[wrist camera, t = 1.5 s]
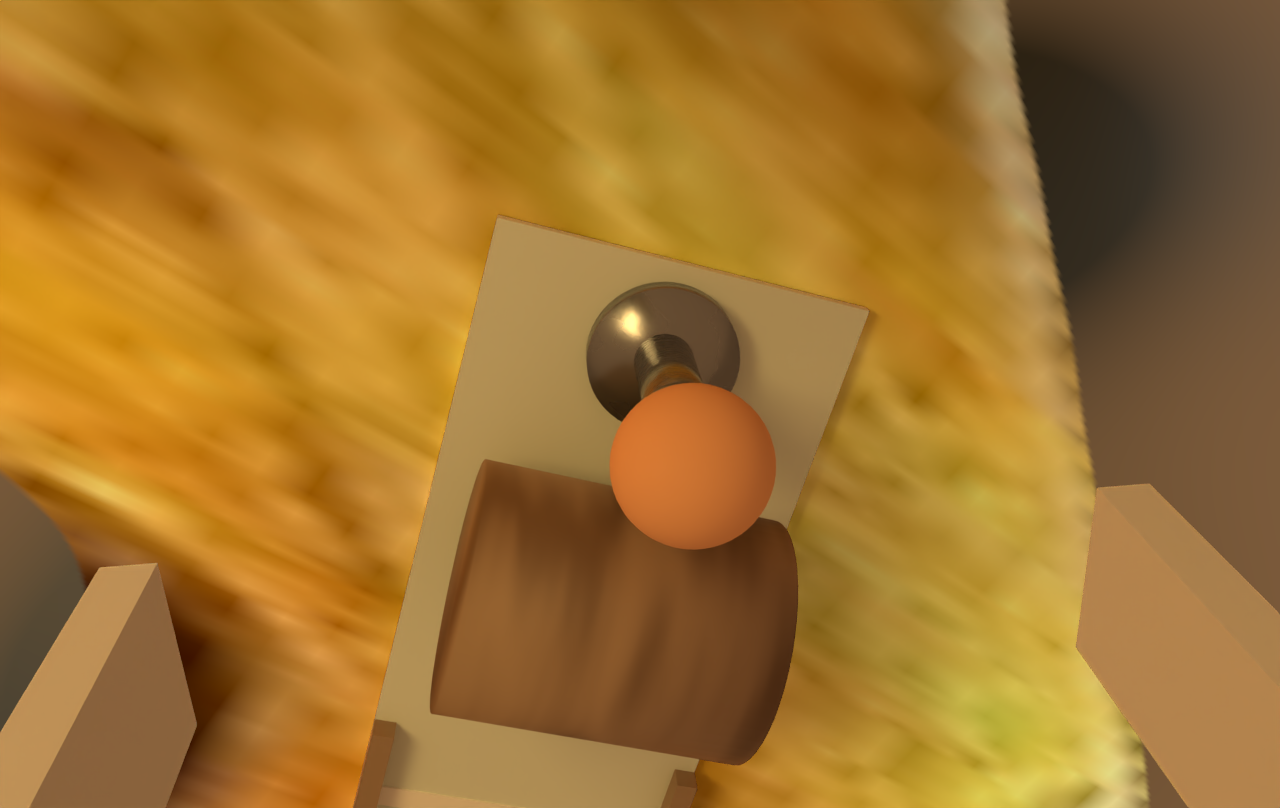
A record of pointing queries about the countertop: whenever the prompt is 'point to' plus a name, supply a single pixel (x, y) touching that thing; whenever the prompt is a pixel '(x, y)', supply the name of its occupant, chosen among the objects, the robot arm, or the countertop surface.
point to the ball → (692, 466)
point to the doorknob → (659, 345)
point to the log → (612, 623)
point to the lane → (579, 448)
